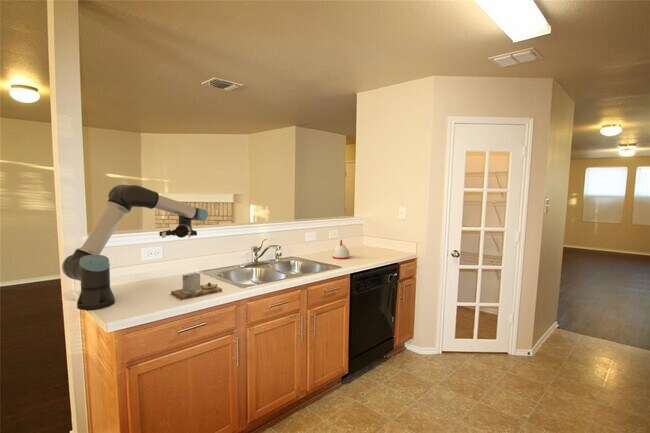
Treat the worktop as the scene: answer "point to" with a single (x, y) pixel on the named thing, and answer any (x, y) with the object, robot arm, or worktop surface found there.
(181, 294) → the gear board
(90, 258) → the robot arm
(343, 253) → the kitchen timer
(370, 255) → the worktop surface
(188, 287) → the medicine box
